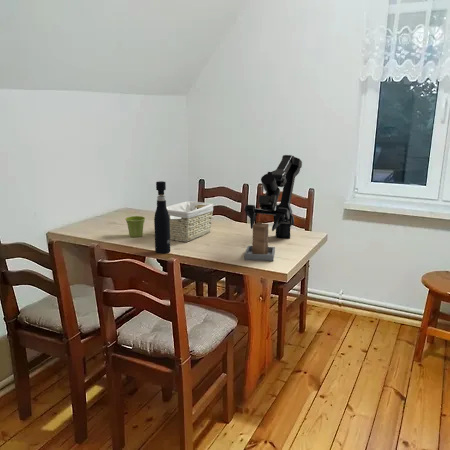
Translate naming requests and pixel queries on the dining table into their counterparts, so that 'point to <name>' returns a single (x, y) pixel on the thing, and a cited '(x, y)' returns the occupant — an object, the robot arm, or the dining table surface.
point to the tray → (260, 256)
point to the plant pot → (135, 225)
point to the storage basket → (189, 220)
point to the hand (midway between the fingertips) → (261, 229)
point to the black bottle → (161, 222)
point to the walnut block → (260, 238)
